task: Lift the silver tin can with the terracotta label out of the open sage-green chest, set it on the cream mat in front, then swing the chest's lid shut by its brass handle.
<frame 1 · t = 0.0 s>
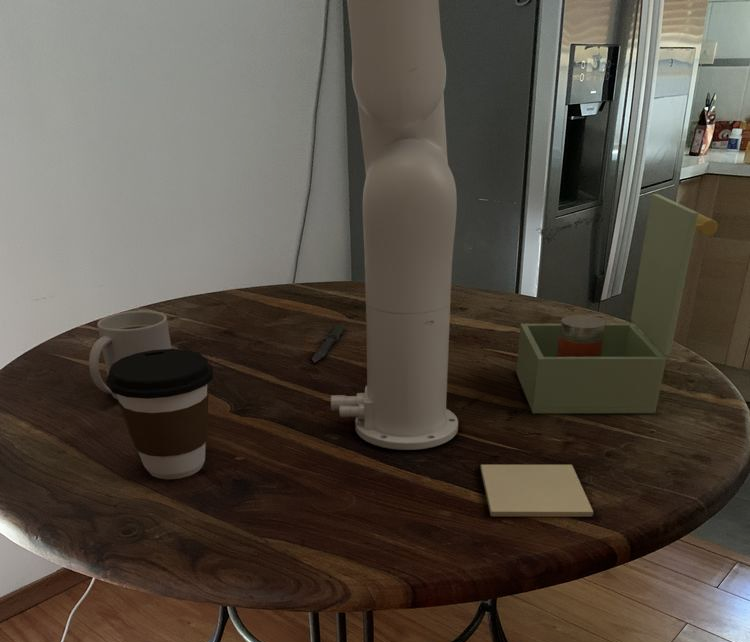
chest: (581, 392, 100), on the table
mat: (533, 491, 77), on the table
can: (574, 386, 100), point 1 cm above the table, touching chest
mug: (138, 393, 102), on the table
lid: (677, 272, 92), point 16 cm above the table, hinge at 90.0°
knife: (329, 345, 118), on the table
coffee cup: (176, 468, 82), on the table
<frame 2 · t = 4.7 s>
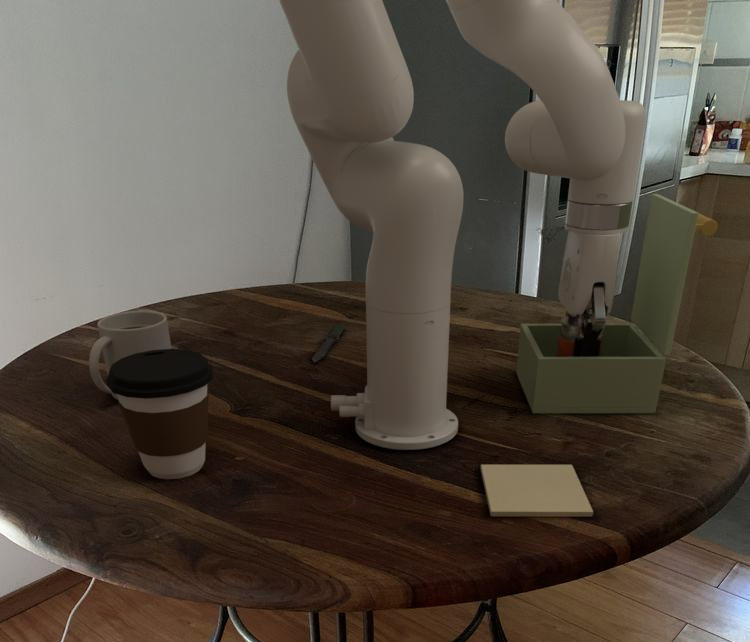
hand: (578, 358, 98), 5 cm above the table, tool pointing down, fingers closed on can, 5 cm apart
can: (574, 386, 100), point 1 cm above the table, touching chest, gripper
everything else where it was.
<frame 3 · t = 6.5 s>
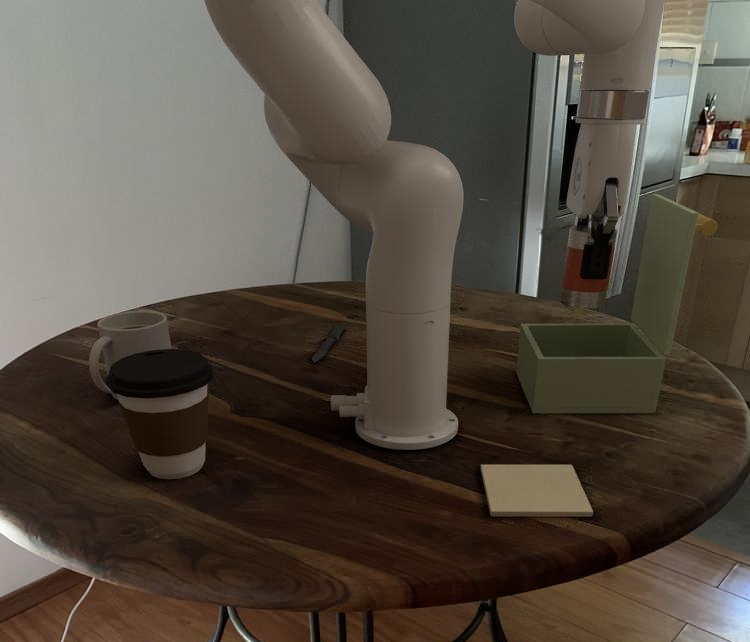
hand: (587, 271, 92), 16 cm above the table, tool pointing down, fingers closed on can, 5 cm apart
can: (582, 302, 94), point 12 cm above the table, touching gripper
everything else where it was.
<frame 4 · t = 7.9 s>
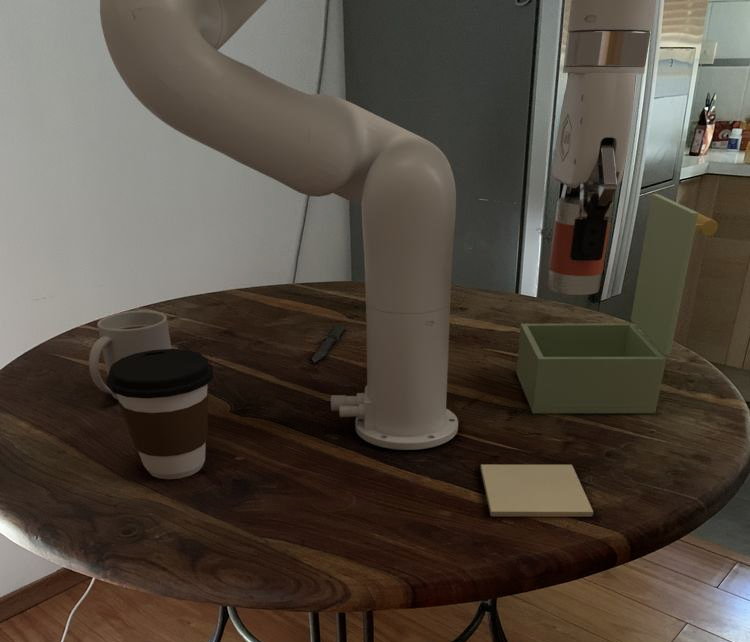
hand: (577, 251, 78), 21 cm above the table, tool pointing down, fingers closed on can, 5 cm apart
can: (572, 288, 80), point 17 cm above the table, touching gripper
everything else where it was.
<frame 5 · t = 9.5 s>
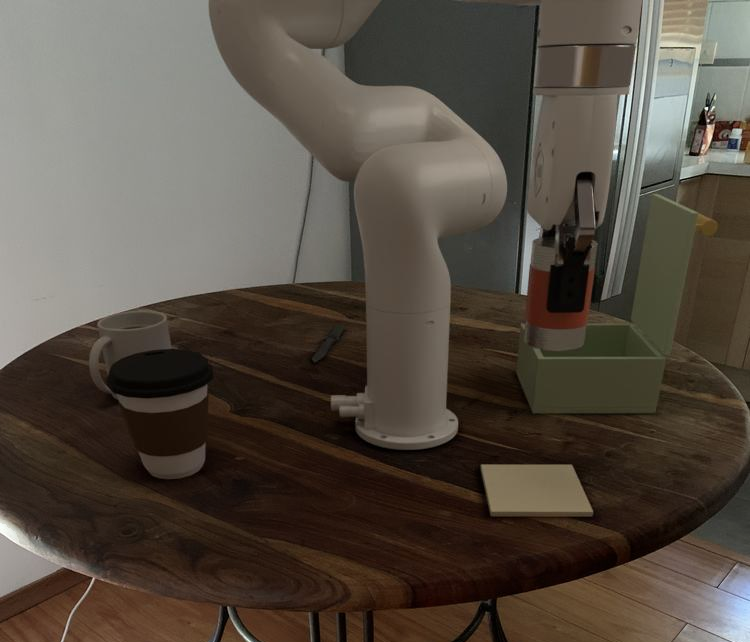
hand: (557, 299, 67), 20 cm above the table, tool pointing down, fingers closed on can, 5 cm apart
can: (553, 341, 69), point 16 cm above the table, touching gripper
everything else where it was.
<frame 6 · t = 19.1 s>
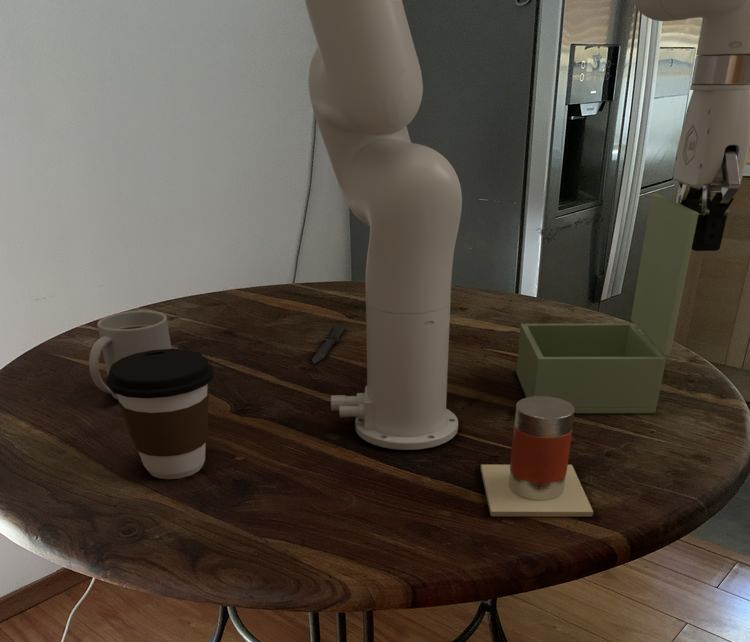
hand: (694, 243, 90), 19 cm above the table, tool pointing down, fingers closed on lid, 6 cm apart
can: (535, 487, 76), point 1 cm above the table, touching mat
lid: (677, 272, 92), point 16 cm above the table, hinge at 90.0°, touching gripper
everything else where it was.
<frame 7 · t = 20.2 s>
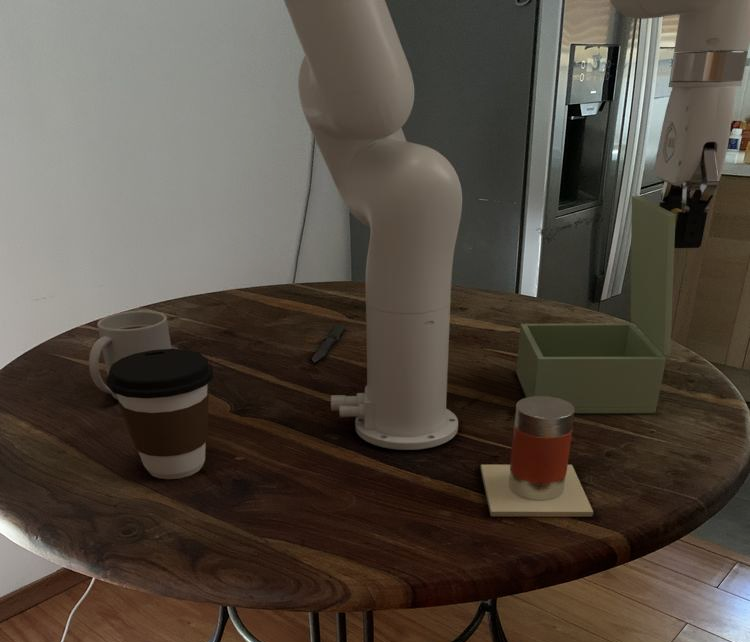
hand: (676, 240, 90), 20 cm above the table, tool pointing down, fingers closed on lid, 6 cm apart
lid: (667, 270, 92), point 16 cm above the table, hinge at 81.1°, touching gripper
everything else where it was.
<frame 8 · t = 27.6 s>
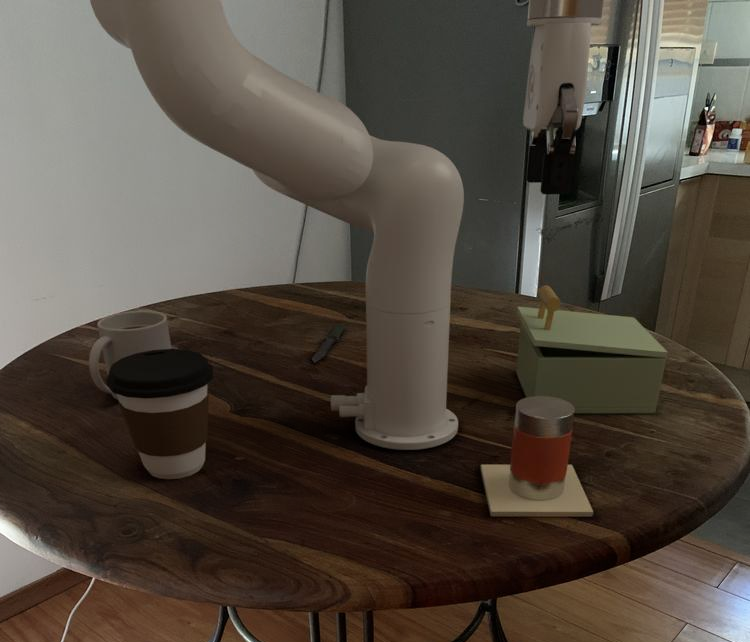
hand: (547, 187, 84), 26 cm above the table, tool pointing down, fingers open, 9 cm apart
lid: (590, 314, 95), point 11 cm above the table, hinge at 5.6°
everything else where it was.
at the end: can inside the target area on the mat (0.2 cm from its centre), point 0.6 cm above the mat's base; can tilted 0°; lid at +6° (first picture: +90°) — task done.
